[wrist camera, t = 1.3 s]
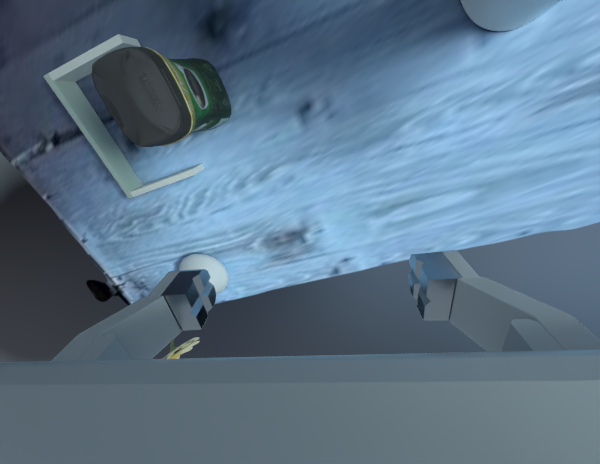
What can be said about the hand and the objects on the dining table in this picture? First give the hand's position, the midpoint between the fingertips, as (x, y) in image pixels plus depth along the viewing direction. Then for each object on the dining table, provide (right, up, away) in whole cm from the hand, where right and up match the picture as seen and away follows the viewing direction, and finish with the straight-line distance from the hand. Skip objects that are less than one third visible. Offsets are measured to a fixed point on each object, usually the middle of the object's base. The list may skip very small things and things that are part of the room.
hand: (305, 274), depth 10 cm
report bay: (-28, +20, +34) cm, 48 cm away
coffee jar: (-16, +24, +31) cm, 42 cm away
